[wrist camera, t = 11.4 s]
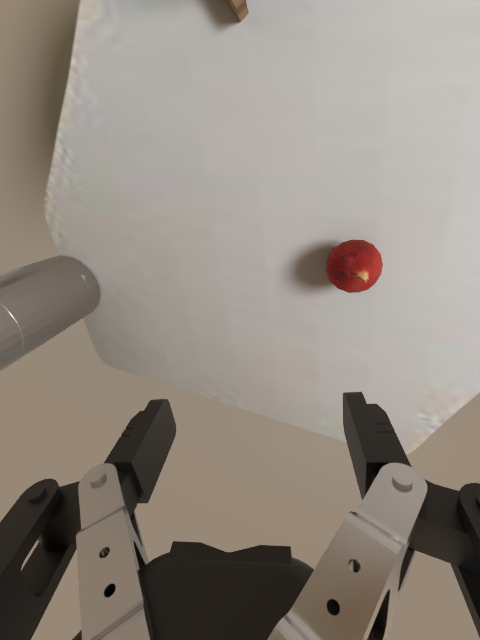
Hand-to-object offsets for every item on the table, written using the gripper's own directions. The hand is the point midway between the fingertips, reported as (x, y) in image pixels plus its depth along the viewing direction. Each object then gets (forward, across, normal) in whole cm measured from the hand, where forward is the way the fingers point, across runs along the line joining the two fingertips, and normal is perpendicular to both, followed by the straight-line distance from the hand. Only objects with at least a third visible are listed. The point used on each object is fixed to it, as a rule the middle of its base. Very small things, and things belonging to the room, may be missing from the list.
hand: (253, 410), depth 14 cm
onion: (+28, -10, 0) cm, 29 cm away
